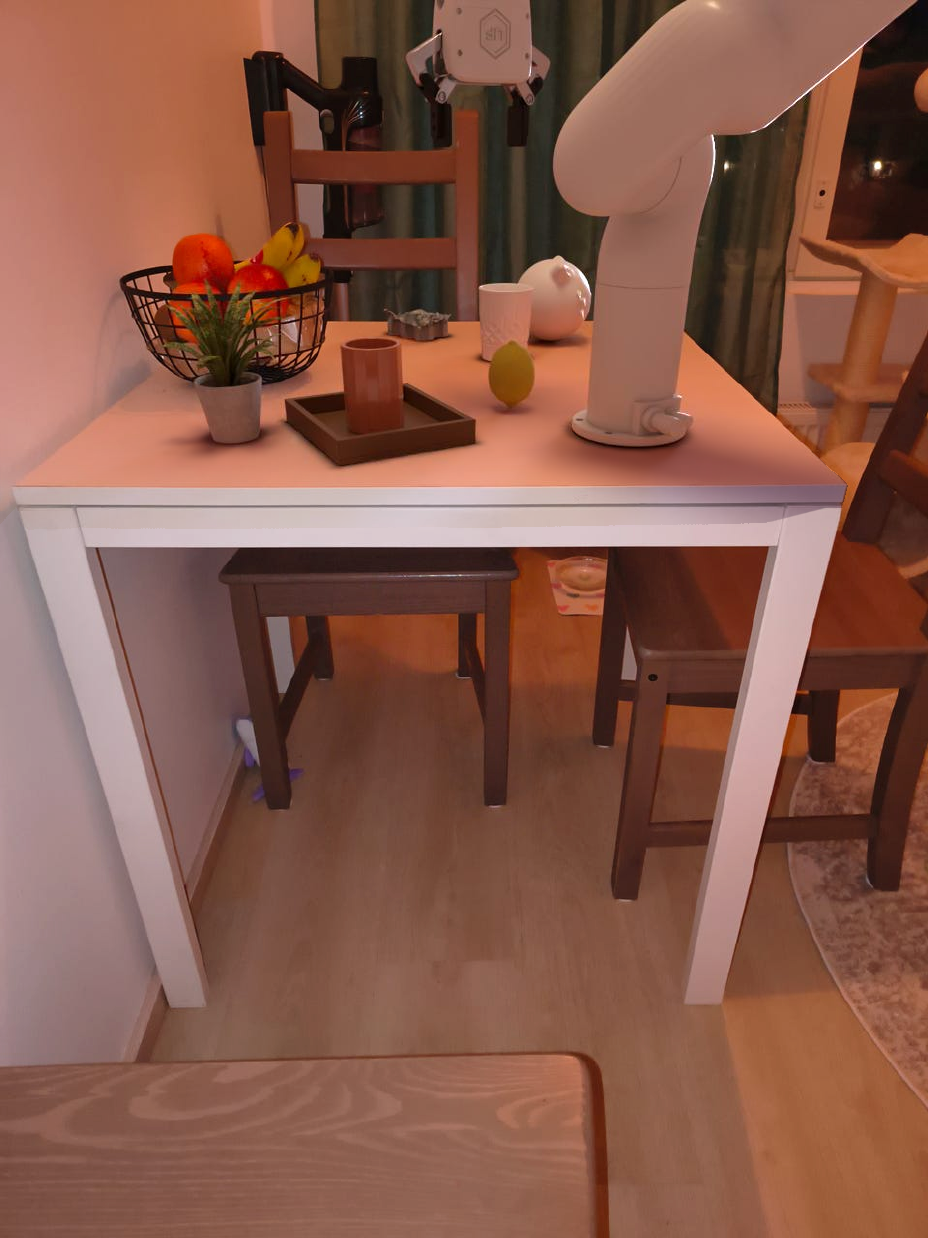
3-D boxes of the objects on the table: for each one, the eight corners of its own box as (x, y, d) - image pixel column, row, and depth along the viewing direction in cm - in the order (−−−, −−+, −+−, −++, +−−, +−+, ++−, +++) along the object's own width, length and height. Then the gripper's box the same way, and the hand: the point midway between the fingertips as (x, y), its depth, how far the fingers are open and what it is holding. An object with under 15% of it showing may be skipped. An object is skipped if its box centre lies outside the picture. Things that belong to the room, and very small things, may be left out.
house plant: (287, 461, 84) (268, 290, 76) (153, 460, 84) (119, 290, 76) (312, 420, 96) (298, 270, 88) (195, 420, 97) (170, 270, 89)
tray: (475, 442, 89) (475, 419, 88) (339, 466, 83) (337, 440, 82) (408, 403, 103) (407, 382, 101) (286, 420, 96) (284, 398, 95)
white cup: (531, 352, 128) (533, 283, 123) (529, 364, 121) (532, 291, 116) (480, 351, 128) (480, 282, 123) (475, 363, 121) (476, 290, 116)
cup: (413, 429, 91) (410, 345, 87) (359, 438, 89) (353, 352, 84) (390, 415, 96) (386, 335, 92) (338, 422, 94) (332, 340, 89)
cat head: (508, 330, 143) (510, 253, 137) (584, 331, 142) (590, 253, 136) (507, 349, 130) (509, 264, 124) (591, 349, 129) (597, 265, 123)
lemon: (482, 412, 99) (482, 343, 95) (496, 400, 104) (497, 334, 100) (526, 416, 98) (528, 346, 94) (538, 404, 102) (541, 337, 98)
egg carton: (380, 333, 141) (379, 308, 139) (414, 327, 145) (413, 303, 143) (421, 342, 134) (421, 316, 132) (455, 336, 139) (455, 310, 137)
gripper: (422, -64, 77) (427, 147, 86) (572, -46, 85) (563, 146, 93) (388, -50, 83) (396, 147, 91) (531, -34, 90) (526, 146, 99)
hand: (480, 146), depth 92 cm, fingers open, 9 cm apart
